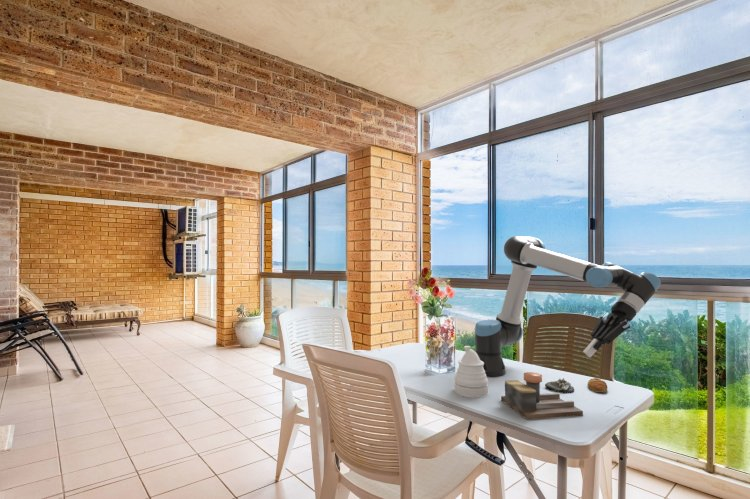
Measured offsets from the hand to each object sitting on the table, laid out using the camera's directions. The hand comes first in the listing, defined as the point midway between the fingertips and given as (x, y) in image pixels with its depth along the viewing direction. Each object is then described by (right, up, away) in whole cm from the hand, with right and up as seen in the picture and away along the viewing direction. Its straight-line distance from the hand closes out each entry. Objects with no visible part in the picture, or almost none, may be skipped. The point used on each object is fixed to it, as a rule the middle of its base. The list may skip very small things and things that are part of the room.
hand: (586, 354), depth 143 cm
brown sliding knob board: (-18, -18, -3) cm, 26 cm away
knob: (-21, -16, -4) cm, 27 cm away
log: (-2, -19, +17) cm, 26 cm away
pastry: (+13, -19, +16) cm, 28 cm away
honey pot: (-38, -19, +13) cm, 45 cm away
